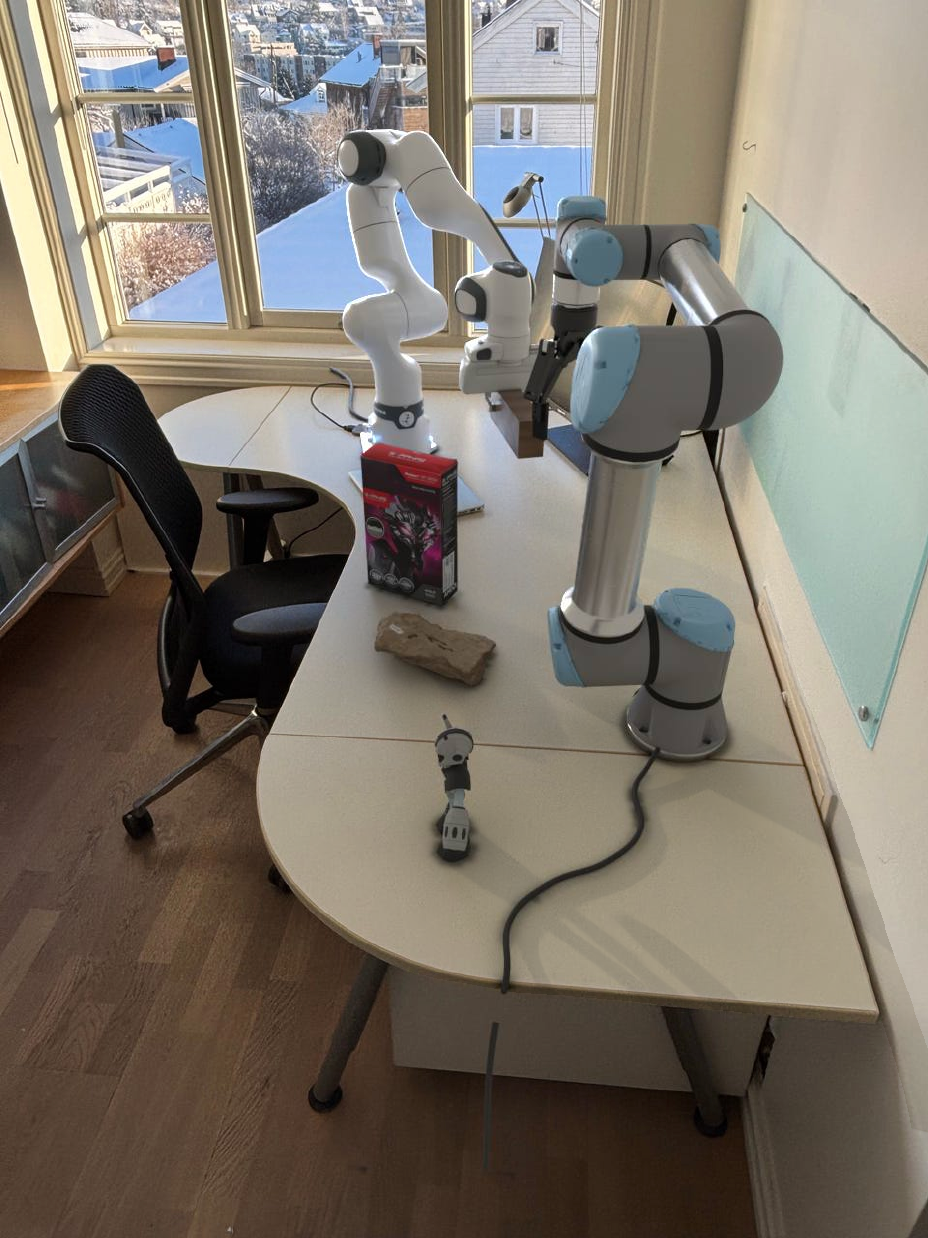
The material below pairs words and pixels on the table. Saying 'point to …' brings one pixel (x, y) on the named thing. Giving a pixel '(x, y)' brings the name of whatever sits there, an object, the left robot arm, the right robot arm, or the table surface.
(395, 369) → the left robot arm
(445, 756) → the robot
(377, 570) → the graphics card box
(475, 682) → the stone
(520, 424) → the bar
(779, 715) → the table surface
